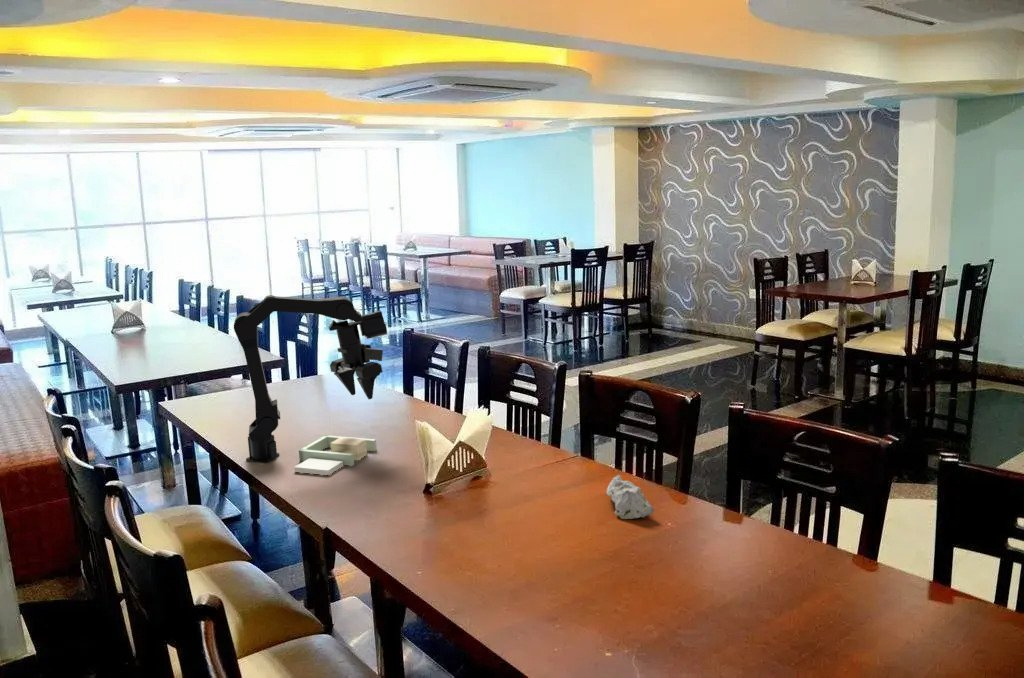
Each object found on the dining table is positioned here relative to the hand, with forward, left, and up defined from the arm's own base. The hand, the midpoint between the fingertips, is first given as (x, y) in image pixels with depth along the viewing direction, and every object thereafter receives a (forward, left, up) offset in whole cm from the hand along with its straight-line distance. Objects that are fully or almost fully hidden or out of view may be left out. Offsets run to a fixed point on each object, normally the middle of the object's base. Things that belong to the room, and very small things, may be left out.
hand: (361, 396), depth 225 cm
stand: (-2, -20, -14) cm, 25 cm away
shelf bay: (-3, -9, -14) cm, 17 cm away
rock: (+79, -25, -15) cm, 84 cm away
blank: (0, -9, -14) cm, 17 cm away
